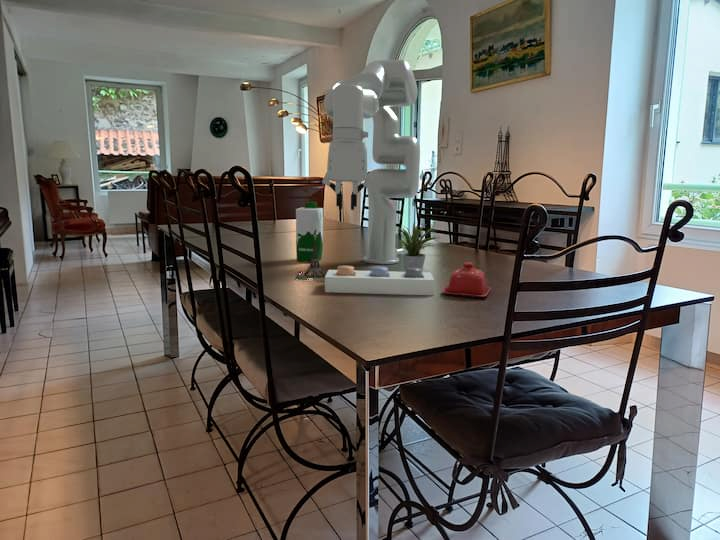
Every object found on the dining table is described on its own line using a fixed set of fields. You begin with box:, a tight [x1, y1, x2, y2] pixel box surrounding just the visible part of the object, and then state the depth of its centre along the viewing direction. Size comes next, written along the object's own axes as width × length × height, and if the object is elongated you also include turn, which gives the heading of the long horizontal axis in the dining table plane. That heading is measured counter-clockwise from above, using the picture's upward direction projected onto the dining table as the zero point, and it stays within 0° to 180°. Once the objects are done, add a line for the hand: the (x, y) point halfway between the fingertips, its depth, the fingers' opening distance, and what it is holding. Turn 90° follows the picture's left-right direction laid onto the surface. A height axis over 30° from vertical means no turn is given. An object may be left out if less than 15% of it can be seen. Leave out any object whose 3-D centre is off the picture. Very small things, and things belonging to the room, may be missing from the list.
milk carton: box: [295, 201, 324, 264], centre depth 178 cm, size 9×9×20 cm
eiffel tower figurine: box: [294, 237, 327, 283], centre depth 152 cm, size 15×10×13 cm
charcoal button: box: [405, 267, 423, 278], centre depth 137 cm, size 4×4×3 cm
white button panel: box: [324, 269, 436, 296], centre depth 138 cm, size 28×10×4 cm, turn 88°
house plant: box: [394, 222, 441, 272], centre depth 156 cm, size 14×14×16 cm
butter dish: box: [442, 261, 492, 298], centre depth 136 cm, size 12×12×8 cm
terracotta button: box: [336, 265, 355, 276], centre depth 138 cm, size 4×4×3 cm
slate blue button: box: [370, 265, 389, 277], centre depth 138 cm, size 4×4×3 cm
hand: (346, 208), depth 135 cm, fingers open, 2 cm apart
